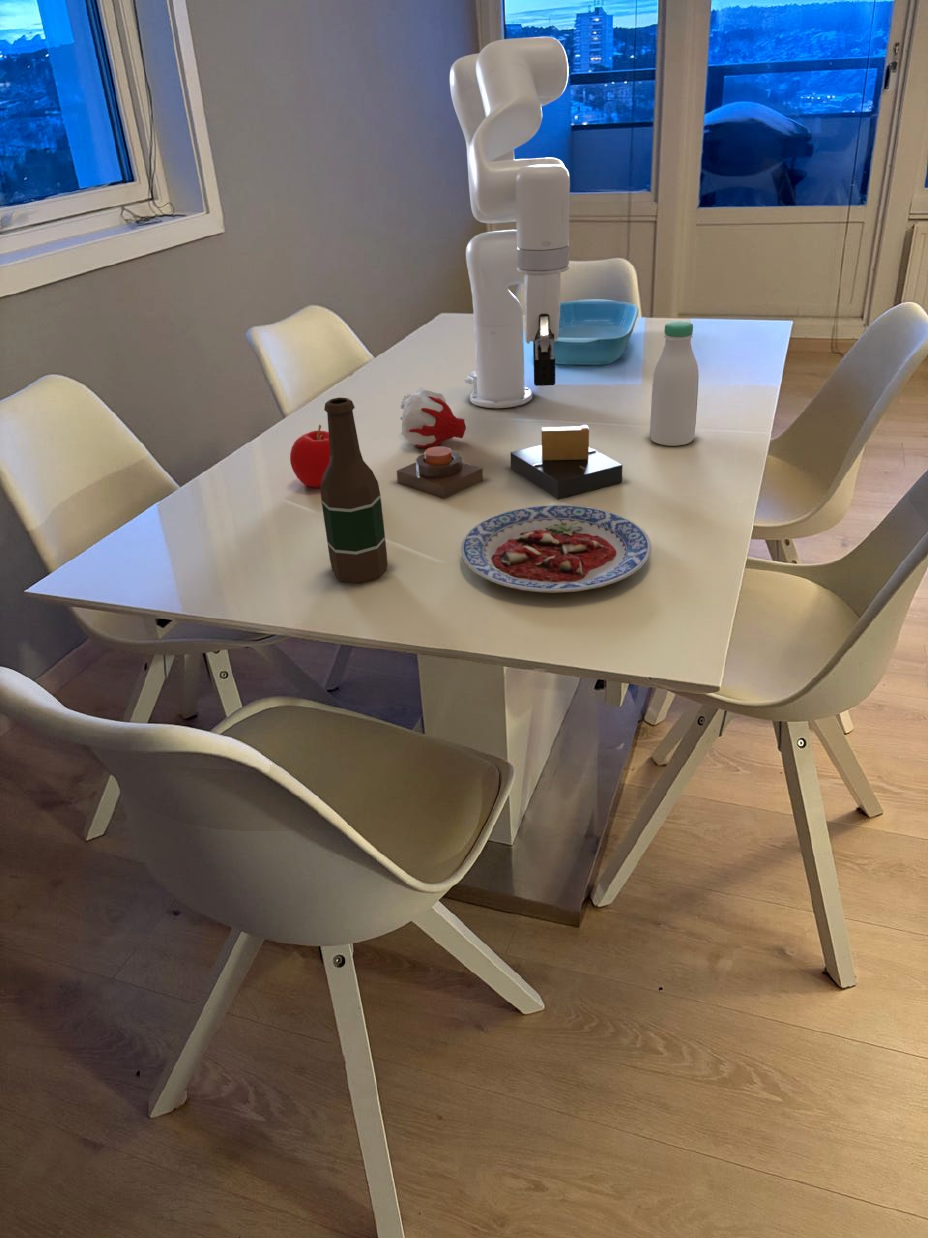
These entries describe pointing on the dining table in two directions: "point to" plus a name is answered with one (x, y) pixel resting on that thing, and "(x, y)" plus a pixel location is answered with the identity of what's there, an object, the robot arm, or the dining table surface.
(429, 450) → the button
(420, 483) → the button block
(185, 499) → the dining table surface
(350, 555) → the beer bottle
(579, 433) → the tap lever
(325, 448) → the fruit
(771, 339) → the dining table surface
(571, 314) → the casserole dish
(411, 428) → the white and red skull
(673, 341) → the milk bottle
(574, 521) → the ceramic plate
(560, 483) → the plate
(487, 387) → the robot arm
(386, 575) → the dining table surface
